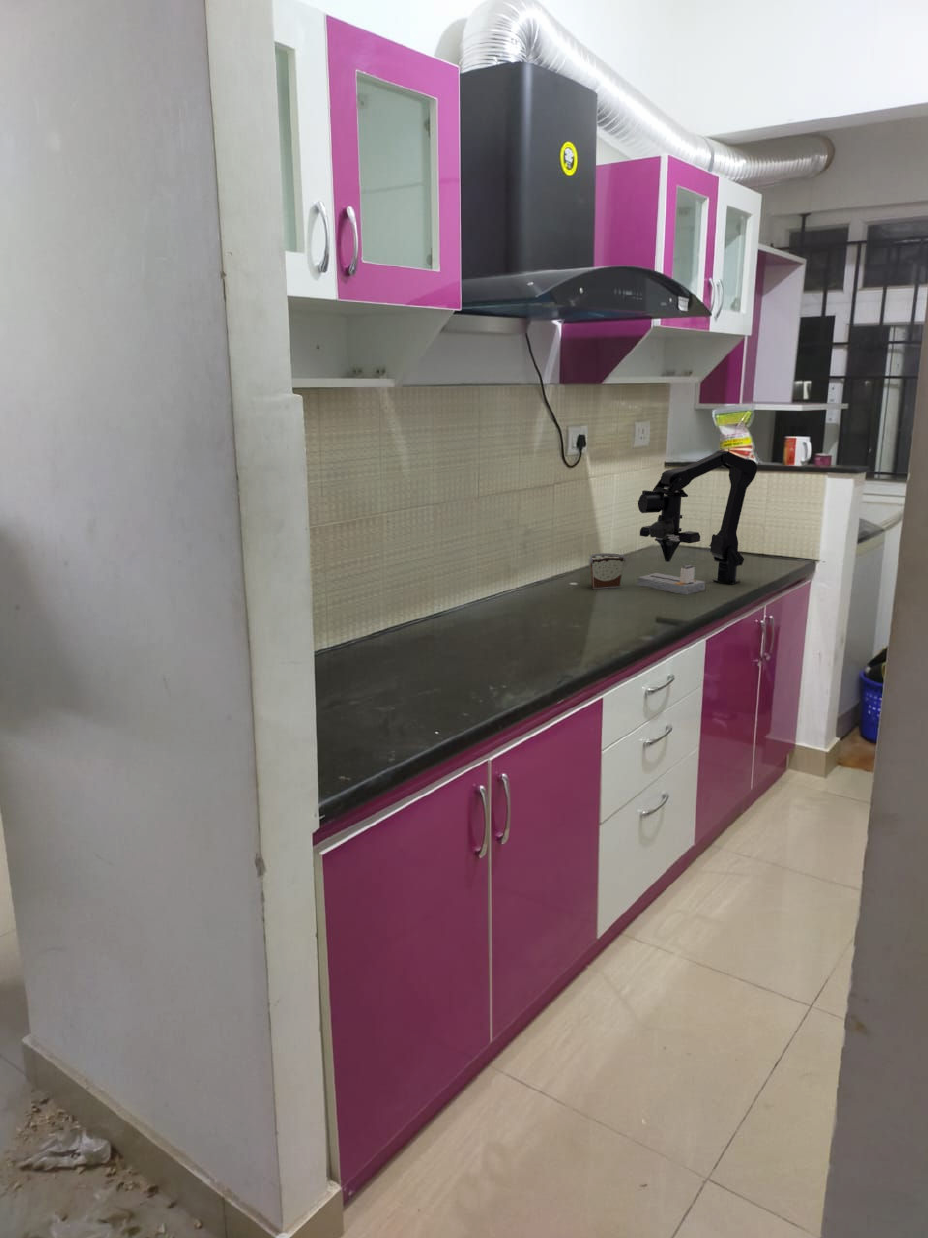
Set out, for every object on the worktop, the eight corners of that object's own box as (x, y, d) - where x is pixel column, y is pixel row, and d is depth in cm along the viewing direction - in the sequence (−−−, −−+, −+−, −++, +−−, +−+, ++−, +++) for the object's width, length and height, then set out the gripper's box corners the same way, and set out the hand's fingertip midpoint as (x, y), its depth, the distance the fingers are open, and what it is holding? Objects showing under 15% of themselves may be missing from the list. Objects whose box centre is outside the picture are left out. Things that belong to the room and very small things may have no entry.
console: (655, 580, 298) (656, 572, 297) (704, 589, 285) (705, 581, 285) (637, 585, 291) (638, 577, 290) (686, 594, 279) (687, 586, 278)
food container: (615, 582, 295) (616, 551, 292) (624, 586, 289) (626, 555, 286) (580, 585, 291) (581, 554, 288) (589, 589, 285) (590, 557, 283)
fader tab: (687, 580, 286) (688, 564, 285) (693, 581, 284) (695, 565, 283) (680, 582, 283) (681, 566, 282) (686, 583, 281) (687, 567, 280)
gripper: (630, 510, 284) (627, 560, 288) (682, 517, 271) (679, 569, 275) (651, 507, 292) (648, 556, 296) (702, 514, 279) (699, 564, 283)
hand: (667, 561), depth 287 cm, fingers closed
